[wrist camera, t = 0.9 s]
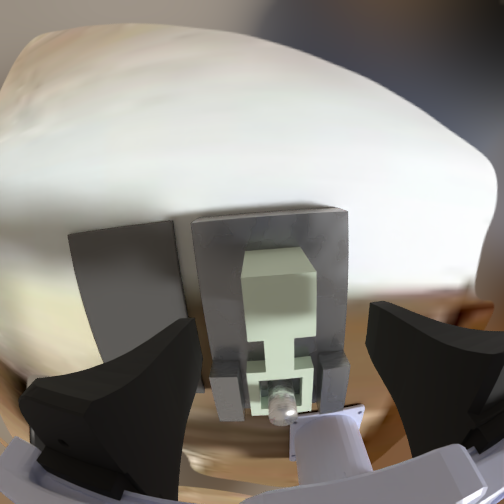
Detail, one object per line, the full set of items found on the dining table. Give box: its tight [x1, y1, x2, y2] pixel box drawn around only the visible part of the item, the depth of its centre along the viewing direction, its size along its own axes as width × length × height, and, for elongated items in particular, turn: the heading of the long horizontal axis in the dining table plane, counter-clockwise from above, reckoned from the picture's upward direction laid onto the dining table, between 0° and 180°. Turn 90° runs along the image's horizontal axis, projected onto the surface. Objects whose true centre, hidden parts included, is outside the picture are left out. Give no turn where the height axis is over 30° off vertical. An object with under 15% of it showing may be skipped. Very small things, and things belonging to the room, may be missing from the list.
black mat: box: [68, 221, 205, 393], centre depth 21 cm, size 16×10×1 cm, turn 5°
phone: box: [30, 427, 45, 452], centre depth 30 cm, size 8×1×15 cm
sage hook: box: [241, 247, 317, 416], centre depth 17 cm, size 13×5×5 cm, turn 5°
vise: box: [191, 208, 350, 426], centre depth 18 cm, size 16×10×6 cm, turn 5°
